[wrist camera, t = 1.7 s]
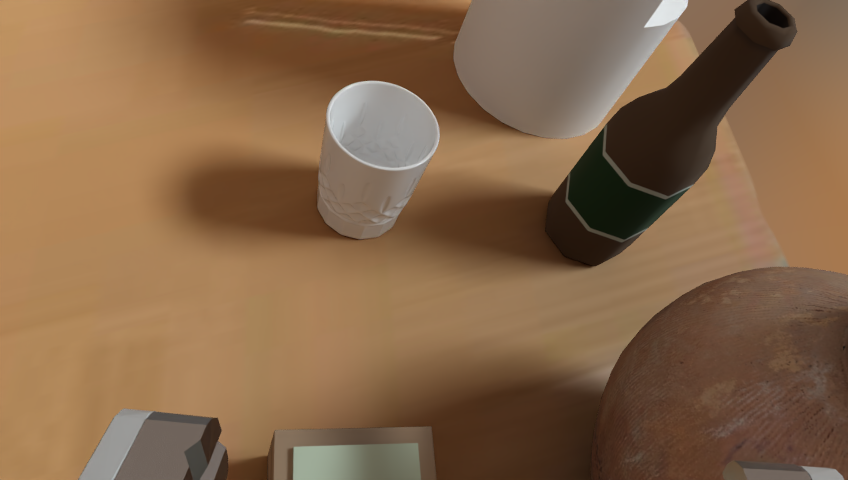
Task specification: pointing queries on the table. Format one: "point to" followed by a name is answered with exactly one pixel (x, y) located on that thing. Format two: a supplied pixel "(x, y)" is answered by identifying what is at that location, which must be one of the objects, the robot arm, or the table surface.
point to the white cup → (372, 156)
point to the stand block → (352, 454)
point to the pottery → (731, 381)
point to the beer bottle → (661, 141)
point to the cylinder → (557, 58)
